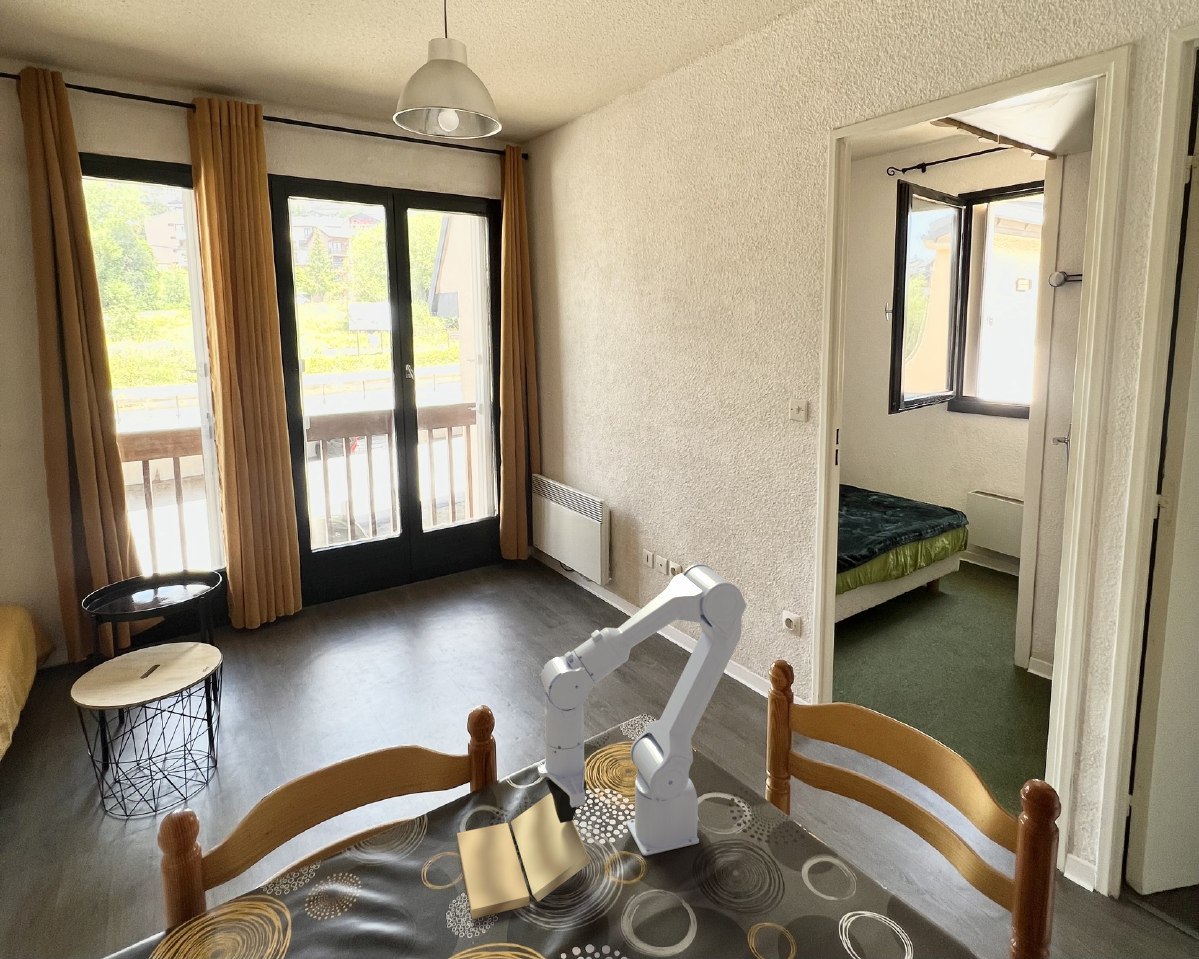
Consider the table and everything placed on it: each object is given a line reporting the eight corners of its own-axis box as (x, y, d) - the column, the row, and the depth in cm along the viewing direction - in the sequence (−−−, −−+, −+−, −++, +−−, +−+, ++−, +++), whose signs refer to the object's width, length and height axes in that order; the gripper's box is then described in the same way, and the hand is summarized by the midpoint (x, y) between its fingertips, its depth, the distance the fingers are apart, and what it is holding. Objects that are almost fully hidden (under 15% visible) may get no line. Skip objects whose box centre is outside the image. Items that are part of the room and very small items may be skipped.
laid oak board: (507, 830, 120) (507, 822, 119) (529, 905, 105) (529, 896, 104) (457, 841, 117) (456, 833, 117) (472, 919, 102) (471, 909, 102)
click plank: (562, 793, 121) (557, 787, 121) (591, 861, 106) (586, 855, 106) (515, 828, 120) (510, 821, 119) (538, 901, 105) (532, 895, 104)
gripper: (527, 717, 115) (529, 794, 118) (550, 771, 102) (551, 857, 105) (571, 710, 117) (572, 786, 120) (599, 762, 104) (599, 846, 107)
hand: (565, 818), depth 113 cm, fingers closed
